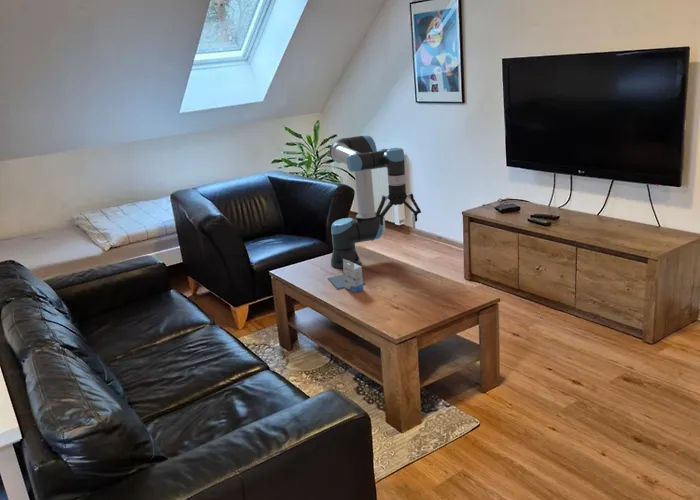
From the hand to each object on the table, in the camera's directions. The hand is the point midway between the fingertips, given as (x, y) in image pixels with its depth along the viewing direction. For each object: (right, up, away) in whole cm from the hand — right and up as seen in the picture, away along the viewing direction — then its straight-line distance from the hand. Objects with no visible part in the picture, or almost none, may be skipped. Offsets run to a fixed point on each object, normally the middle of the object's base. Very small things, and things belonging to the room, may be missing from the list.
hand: (399, 230), depth 286 cm
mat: (-24, -24, +22) cm, 41 cm away
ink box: (-20, -27, +12) cm, 36 cm away
